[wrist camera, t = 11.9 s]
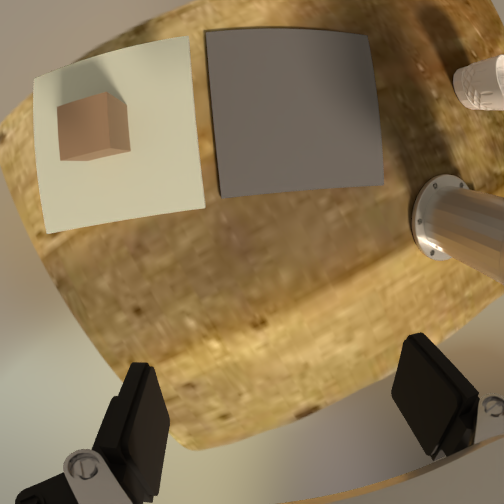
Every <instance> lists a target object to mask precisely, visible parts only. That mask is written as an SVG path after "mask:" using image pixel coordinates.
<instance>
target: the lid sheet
mask: <svg viewBox="0 0 504 504" xmlns="http://www.w3.org/2000/svg"><path fill="white" fill-rule="evenodd" d="M33 119H34V142H35V156H36V166H37V176H38V184H39V191H40V198H41V205H42V211H43V217H44V222H45V227H46V232H47V234H50V233H55V232H60V231H65V230H70V229H76V228H81V227H87V226H92V225H98V224H103V223H109V222H115V221H121V220H127V219H133V218H139V217H146V216H152V215H159V214H165V213H172V212H179V211H186V210H193V209H201V208H205V207H206V205H205V197H204V189H203V181H202V173H201V164H200V155H199V146H198V136H197V126H196V116H195V106H194V95H193V83H192V71H191V58H190V44H189V36H183V37H176V38H170V39H164V40H159V41H154V42H149V43H144V44H140V45H135V46H131V47H127V48H123V49H119V50H115V51H111V52H108V53H104V54H101V55H97V56H94V57H91V58H88V59H85V60H82V61H79V62H76V63H73V64H70V65H67V66H64V67H62V68H59V69H57V70H54V71H51V72H49V73H46V74H44V75H42V76H39V77H37V78H34V89H33Z"/></svg>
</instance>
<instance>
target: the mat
mask: <svg viewBox="0 0 504 504" xmlns="http://www.w3.org/2000/svg"><path fill="white" fill-rule="evenodd" d="M206 41H207V54H208V66H209V78H210V89H211V100H212V111H213V121H214V131H215V141H216V151H217V161H218V170H219V180H220V189H221V198H230V197H239V196H248V195H258V194H268V193H278V192H289V191H301V190H314V189H327V188H342V187H358V186H377V185H384V173H383V153H382V139H381V127H380V116H379V107H378V99H377V91H376V83H375V76H374V70H373V64H372V58H371V52H370V46H369V41H368V36H367V35H360V34H353V33H344V32H335V31H323V30H308V29H241V30H226V31H215V32H206Z"/></svg>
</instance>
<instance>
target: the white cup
mask: <svg viewBox="0 0 504 504" xmlns="http://www.w3.org/2000/svg"><path fill="white" fill-rule="evenodd" d="M453 86H454V90H455V93H456V95H457V97H458V99H459V101H460V102H461V103H462V104H463V105H464V106H465V107H467V108H469V109H472V110H474V109H483V110H504V55H498V56H495V57H491V58H488V59H484V60H481V61H479V62H476V63H473V64H470V65H469V66H466V67H463V68H460V69H457V70H456V72H455V73H454V76H453Z"/></svg>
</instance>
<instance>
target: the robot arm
mask: <svg viewBox="0 0 504 504" xmlns="http://www.w3.org/2000/svg"><path fill="white" fill-rule="evenodd" d="M412 232H413V236H414V240H415V242H416V244H417V246H418V248H419V249H420V251H421V252H422V253H423V254H424V255H426V256H427V257H429V258H431V259H434V260H438V261H443V260H447V259H450V258H452V257H453V258H455V259H457V260H459V261H461V262H463V263H464V264H466V265H468V266H470V267H472V268H474V269H476V270H478V271H480V272H481V273H483V274H485V275H487V276H489V277H491V278H492V279H494V280H496V281H498V282H500V283H501V284H503V285H504V198H503V197H499V196H495V195H491V194H487V193H482V192H478V191H473V190H469V188H468V186H467V185H466V184H465V182H464V181H462V180H461V179H460V178H458V177H456V176H454V175H448V174H441V175H438V176H435V177H433V178H432V179H430V180H429V181H428V182H427V183H426V184H425V185H424V186H423V188H422V189H421V190H420V192H419V194H418V196H417V198H416V201H415V204H414V208H413V213H412ZM391 394H392V398H393V400H394V401H395V403H396V405H397V406H398V408H399V410H400V411H401V413H402V415H403V416H404V418H405V419H406V421H407V423H408V425H409V426H410V428H411V430H412V431H413V433H414V435H415V436H416V438H417V440H418V441H419V443H420V445H421V447H422V448H423V450H424V452H425V453H426V455H428V456H431V457H432V460H433V461H435V460H437V459H439V458H442V457H444V456H445V455H446V458H444V459H441V460H439V461H436V462H434V463H432V464H429V465H427V466H424V467H422V468H419V469H417V470H414V471H411V472H408V473H406V474H403V475H400V476H397V477H395V478H391V479H388V480H385V481H382V482H378V483H375V484H372V485H368V486H365V487H361V488H357V489H353V490H349V491H345V492H341V493H337V494H333V495H328V496H323V497H317V498H312V499H306V500H300V501H294V502H286V503H279V504H504V397H503V396H501V395H499V394H495V393H494V394H493V393H490V394H486V395H484V396H483V397H482V398H481V399H480V398H479V397H478V394H479V392H478V391H477V390H476V389H475V388H474V386H473V385H472V384H471V383H470V382H469V381H468V380H467V379H466V378H465V377H464V376H463V375H462V373H461V372H460V371H459V370H458V369H457V368H456V367H455V366H454V365H453V364H452V363H451V362H450V360H449V359H448V358H447V357H446V356H445V355H444V354H443V353H442V352H441V351H440V350H439V349H438V348H437V347H436V346H435V345H434V344H433V343H432V342H431V341H430V340H429V339H428V337H427V336H426V335H425V334H423V333H416V334H412V335H409V336H408V337H407V339H406V340H404V342H403V346H402V351H401V355H400V359H399V364H398V368H397V372H396V375H395V380H394V383H393V387H392V390H391ZM169 426H170V418H169V414H168V411H167V408H166V405H165V402H164V399H163V396H162V393H161V389H160V386H159V383H158V380H157V376H156V373H155V369H154V367H150V366H149V364H148V363H139V362H133V363H132V364H131V365H130V368H129V370H128V373H127V375H126V377H125V380H124V382H123V385H122V387H121V390H120V392H119V395H118V396H114V397H113V398H112V399H111V401H110V404H109V406H108V409H107V411H106V414H105V416H104V419H103V421H102V424H101V427H100V429H99V432H98V434H97V437H96V439H95V442H94V445H93V447H92V450H89V449H81V450H77V451H75V452H73V453H71V454H70V455H69V456H68V457H67V458H66V460H65V462H64V465H63V470H64V472H63V473H61V474H59V475H57V476H54V477H52V478H50V479H48V480H45V481H43V482H41V483H38V484H36V485H34V486H31V487H29V488H26V489H24V490H23V491H21V492H20V493H19V494H18V496H17V498H16V500H15V504H143V502H150V503H152V502H153V496H157V495H158V493H159V488H160V481H161V474H162V468H163V462H164V455H165V449H166V444H167V438H168V432H169Z"/></svg>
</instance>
